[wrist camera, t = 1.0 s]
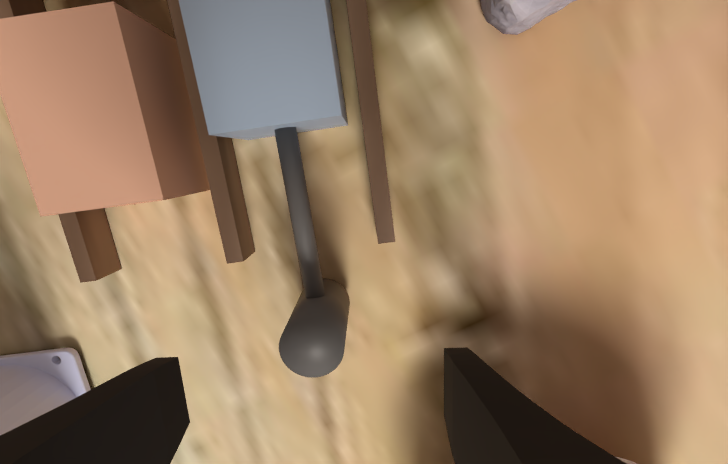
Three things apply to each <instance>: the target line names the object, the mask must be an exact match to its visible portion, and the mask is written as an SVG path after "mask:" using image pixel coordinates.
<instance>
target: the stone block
mask: <svg viewBox="0 0 728 464" xmlns="http://www.w3.org/2000/svg"><path fill="white" fill-rule="evenodd" d="M573 1H576V0H480V2H481V8H482V11H483V14H484V16H485V18H486V21H487V22H488V23H490V24H491V25H493V26H494V27H495V28H496V29H498V30H499V31H500V32H502V33H503V34H515V35H517V34H519V33H521V32H523V31H525V30H527V29H529V28H531V27H532V26H533V25H535V24H536V23H538V22H540V21H541V20H542V19H544V18H545V17H547V16H549V15H551V14H554V13H555V12H557V11H559V10H561V9H562V8H564V7H565V6H567V5H568V4H569V3H571V2H573Z"/></svg>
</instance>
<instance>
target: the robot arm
mask: <svg viewBox="0 0 728 464" xmlns="http://www.w3.org/2000/svg"><path fill="white" fill-rule="evenodd" d="M58 357H60V359H59V358H58ZM444 417H445V422H446V427H447V432H448V437H449V441H450V446H451V451H452V455H453V458H454V461H455V464H626V463H625V462H623V461H621V460H620V459H618V458H616V457H614V456H613V455H611V454H609V453H608V452H606V451H605V450H603V449H601V448H600V447H598V446H597V445H595V444H593V443H592V442H590V441H589V440H587V439H585V438H584V437H582V436H581V435H579V434H577V433H576V432H575V431H573V430H572V429H570V428H569V427H567V426H566V425H564V424H563V423H561V422H560V421H558V420H557V419H556V418H554V417H553V416H551V415H550V414H549V413H547V412H546V411H545V410H543V409H542V408H540V407H539V406H538V405H536V404H535V403H534V402H532V401H531V400H530V399H528V398H527V397H526V396H525V395H523V394H522V393H521V392H519V391H518V390H517V389H516V388H515V387H513V386H512V385H511V384H510V383H508V382H507V381H506V380H505V379H504V378H502V377H501V376H500V375H499V374H498V373H496V372H495V371H494V370H493V369H492V368H491V367H489V366H488V365H487V364H486V363H485V362H484V361H483V360H481V359H480V358H479V357H478V356H477V355H476V354H474V353H473V352H472V351H471V350H470V349H468V348H444ZM189 423H190V420H189V414H188V409H187V404H186V398H185V393H184V387H183V382H182V376H181V371H180V365H179V360H178V357H168V358H155V359H152V360H150V361H147V362H145V363H143V364H141V365H138V366H136V367H134V368H132V369H130V370H128V371H126V372H124V373H122V374H120V375H118V376H116V377H114V378H113V379H111V380H109V381H107V382H105V383H103V384H101V385H99V386H97V387H95V388H93V389H90V386H89V383H88V380H87V377H86V374H85V371H84V368H83V365H82V362H81V359H80V356H79V354H78V352H77V351H76V350H75V349H73V348H60V349H51V350H43V351H35V352H27V353H19V354H11V355H3V356H0V464H170V463H171V461H172V459H173V457H174V455H175V453H176V451H177V449H178V447H179V445H180V443H181V440H182V438H183V436H184V434H185V432H186V429H187V427H188V425H189Z"/></svg>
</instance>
